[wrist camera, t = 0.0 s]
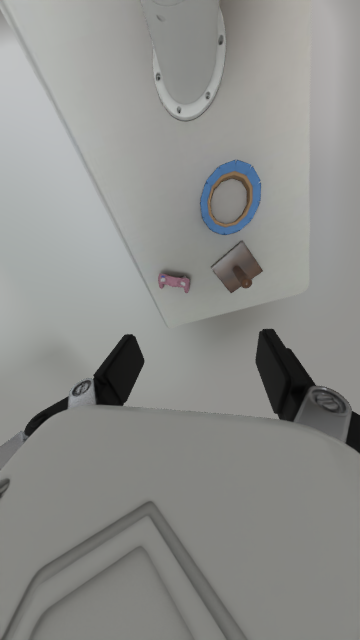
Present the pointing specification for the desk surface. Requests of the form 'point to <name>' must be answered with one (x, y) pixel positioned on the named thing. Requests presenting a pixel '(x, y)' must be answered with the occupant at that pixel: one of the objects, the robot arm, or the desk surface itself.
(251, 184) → the tape roll
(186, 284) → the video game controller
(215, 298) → the desk surface
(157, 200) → the desk surface
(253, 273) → the stand
